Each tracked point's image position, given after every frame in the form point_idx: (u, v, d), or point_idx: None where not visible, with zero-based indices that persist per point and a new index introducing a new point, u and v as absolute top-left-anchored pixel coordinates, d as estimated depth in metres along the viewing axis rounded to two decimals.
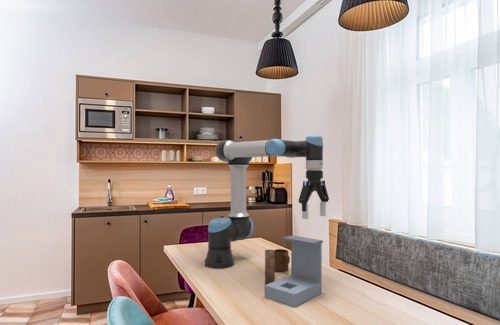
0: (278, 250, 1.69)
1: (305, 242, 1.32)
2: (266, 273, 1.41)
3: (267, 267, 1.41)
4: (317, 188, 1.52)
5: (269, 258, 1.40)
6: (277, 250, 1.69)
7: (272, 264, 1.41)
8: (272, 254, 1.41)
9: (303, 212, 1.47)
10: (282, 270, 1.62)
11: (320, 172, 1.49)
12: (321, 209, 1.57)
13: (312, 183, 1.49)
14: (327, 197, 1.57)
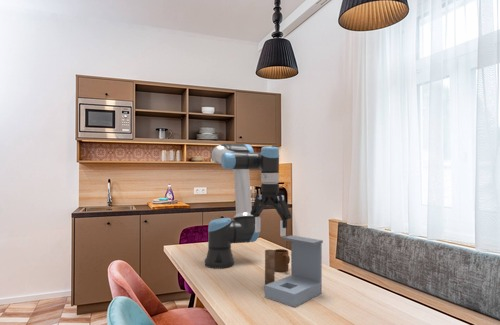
0: (278, 250, 1.69)
1: (305, 242, 1.32)
2: (266, 273, 1.41)
3: (267, 267, 1.41)
4: (270, 203, 1.41)
5: (269, 258, 1.40)
6: (277, 250, 1.69)
7: (272, 264, 1.40)
8: (272, 254, 1.41)
9: None
10: (282, 270, 1.62)
11: (263, 186, 1.41)
12: None
13: (262, 197, 1.44)
14: (285, 215, 1.36)
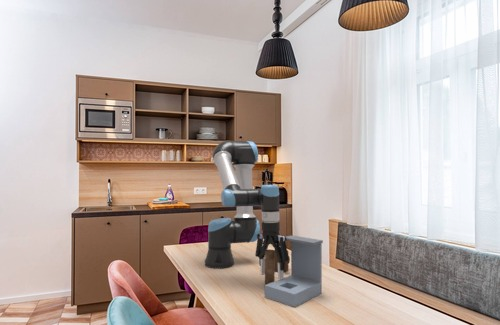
0: None
1: (305, 242, 1.32)
2: (266, 273, 1.41)
3: (267, 267, 1.41)
4: (271, 242, 1.41)
5: (269, 258, 1.40)
6: None
7: (272, 264, 1.41)
8: (272, 254, 1.41)
9: None
10: None
11: (263, 225, 1.40)
12: None
13: (263, 235, 1.43)
14: (282, 258, 1.36)
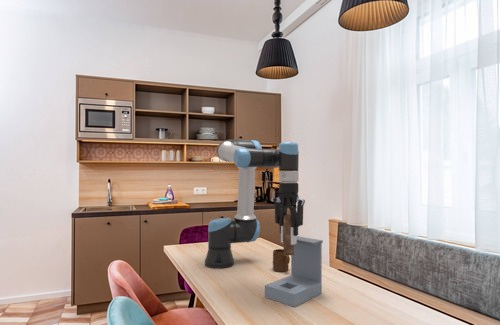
0: (278, 250, 1.69)
1: (305, 242, 1.32)
2: (285, 239, 1.29)
3: (286, 232, 1.29)
4: None
5: (288, 222, 1.29)
6: (277, 250, 1.69)
7: None
8: None
9: None
10: (282, 270, 1.62)
11: (281, 185, 1.29)
12: None
13: (280, 197, 1.32)
14: (297, 222, 1.26)
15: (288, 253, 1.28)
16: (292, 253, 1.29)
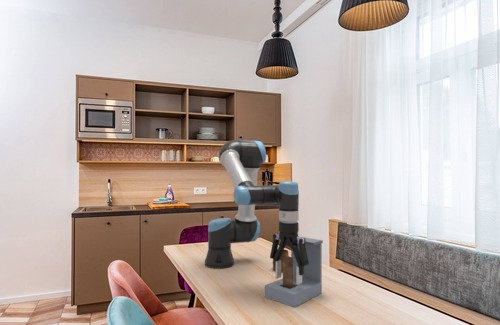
0: None
1: (305, 242, 1.32)
2: (284, 283, 1.29)
3: (285, 276, 1.29)
4: (288, 244, 1.29)
5: (287, 266, 1.28)
6: None
7: (290, 273, 1.29)
8: (290, 262, 1.29)
9: None
10: (282, 270, 1.62)
11: (281, 225, 1.28)
12: None
13: (280, 236, 1.32)
14: (302, 261, 1.25)
15: None
16: None
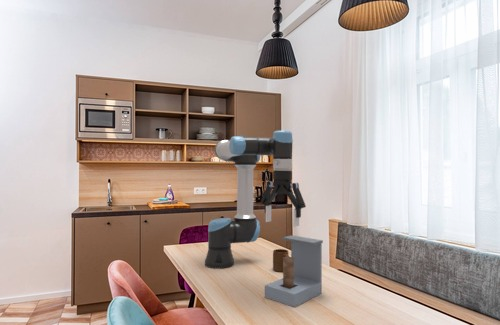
0: (278, 250, 1.69)
1: (305, 242, 1.32)
2: (284, 283, 1.29)
3: (286, 276, 1.28)
4: (282, 191, 1.32)
5: (288, 266, 1.28)
6: (277, 250, 1.69)
7: (291, 273, 1.28)
8: (291, 262, 1.29)
9: None
10: (282, 270, 1.62)
11: (275, 172, 1.31)
12: None
13: (274, 184, 1.35)
14: (299, 204, 1.27)
15: None
16: None
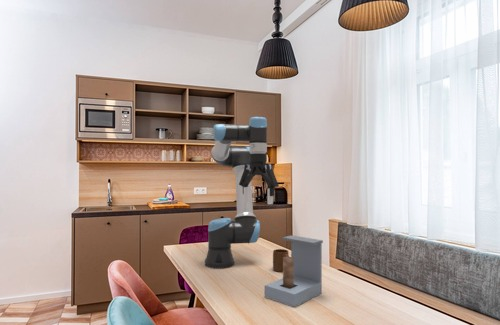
0: (278, 250, 1.69)
1: (305, 242, 1.32)
2: (284, 283, 1.29)
3: (285, 276, 1.29)
4: (257, 172, 1.44)
5: (288, 266, 1.28)
6: (277, 250, 1.69)
7: (291, 273, 1.29)
8: (291, 262, 1.29)
9: None
10: (282, 270, 1.62)
11: (251, 155, 1.43)
12: None
13: (251, 167, 1.46)
14: (272, 183, 1.38)
15: None
16: None
